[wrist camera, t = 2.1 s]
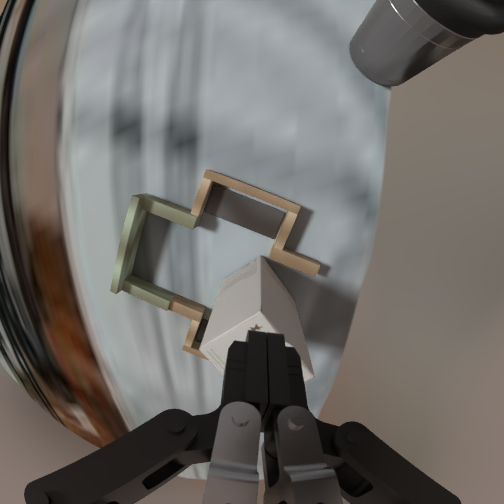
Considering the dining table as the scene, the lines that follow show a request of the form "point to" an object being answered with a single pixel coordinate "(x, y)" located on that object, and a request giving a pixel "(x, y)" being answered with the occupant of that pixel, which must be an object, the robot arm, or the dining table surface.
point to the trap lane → (218, 205)
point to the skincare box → (253, 314)
